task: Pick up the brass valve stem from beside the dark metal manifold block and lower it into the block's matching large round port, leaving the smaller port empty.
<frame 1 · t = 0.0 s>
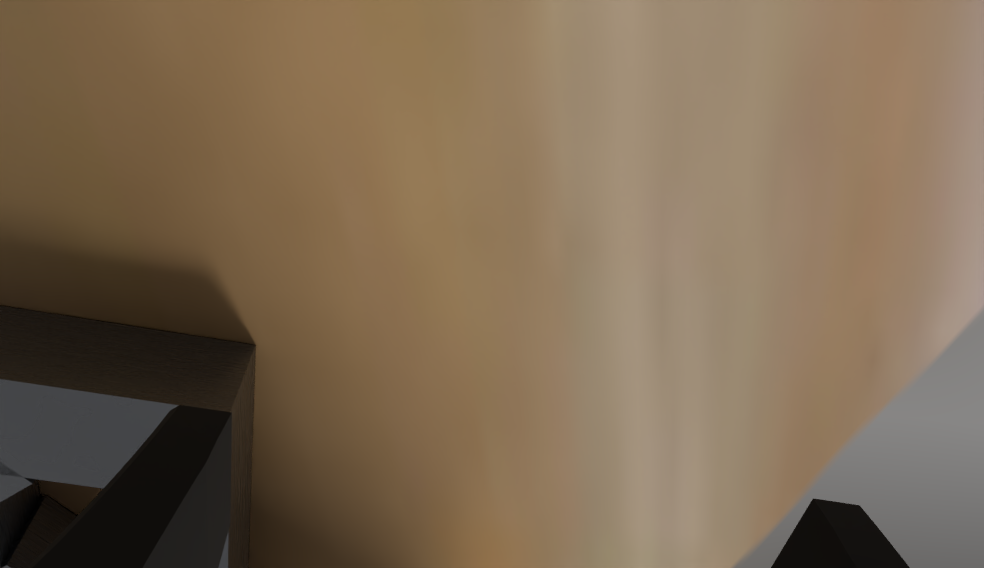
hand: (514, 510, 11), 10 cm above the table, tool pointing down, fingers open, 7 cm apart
manifold block: (9, 462, 25), on the table
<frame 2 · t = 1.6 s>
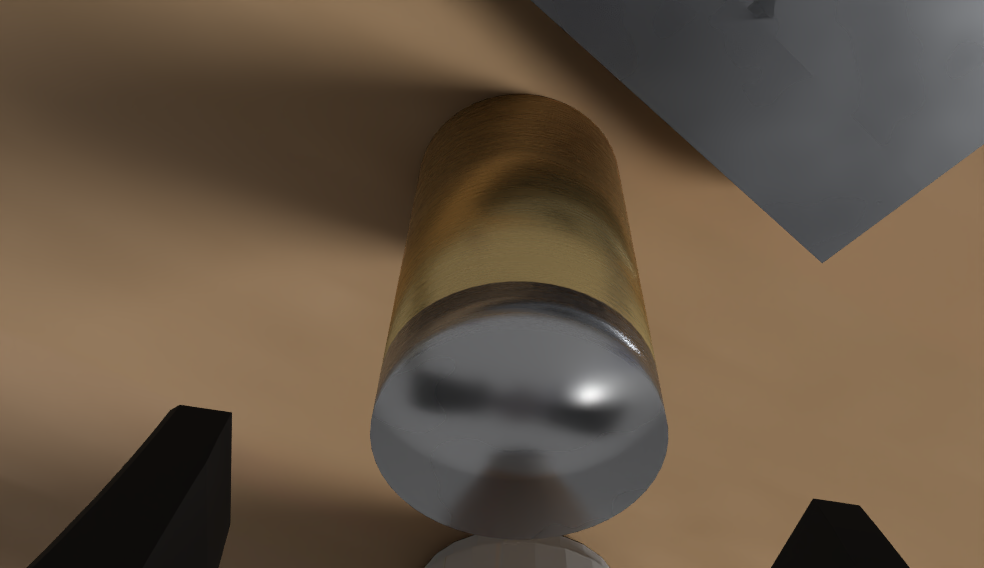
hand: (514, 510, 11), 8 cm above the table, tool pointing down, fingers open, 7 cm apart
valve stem: (518, 187, 17), on the table
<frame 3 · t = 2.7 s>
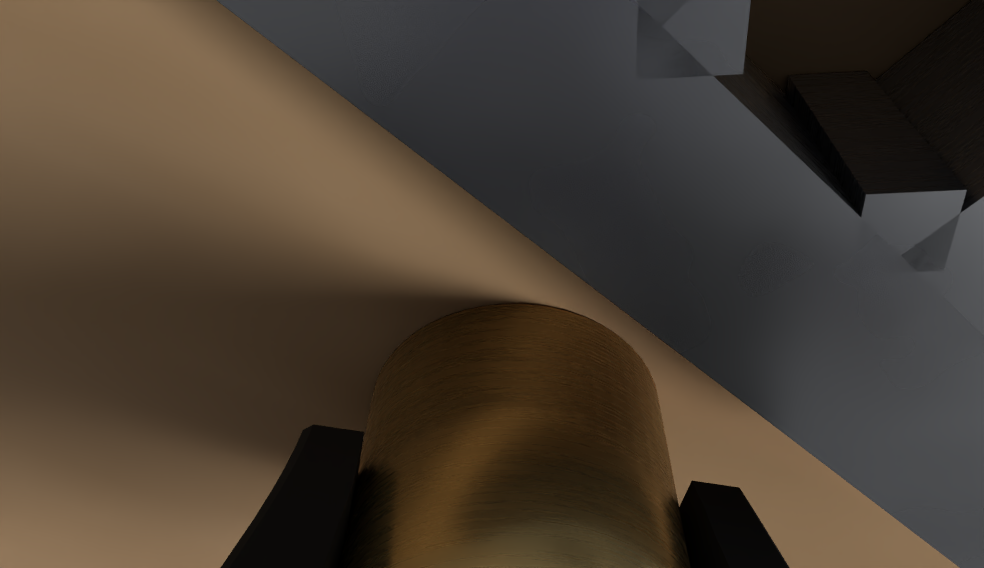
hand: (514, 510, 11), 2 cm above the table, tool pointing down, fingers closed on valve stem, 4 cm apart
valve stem: (514, 417, 12), on the table, touching gripper
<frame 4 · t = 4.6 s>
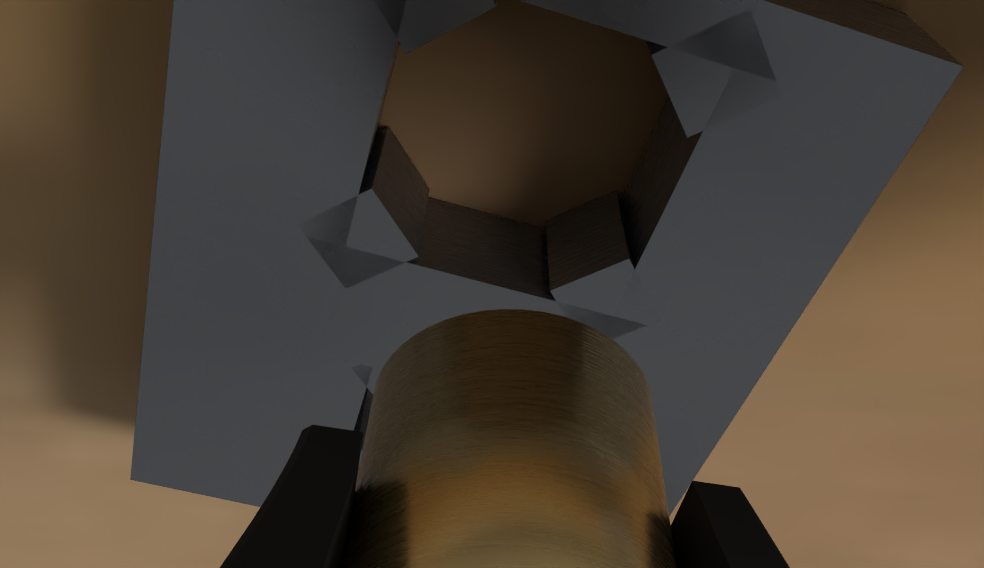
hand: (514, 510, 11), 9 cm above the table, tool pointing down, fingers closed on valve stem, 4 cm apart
manifold block: (476, 239, 19), on the table
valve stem: (511, 414, 13), point 7 cm above the table, touching gripper
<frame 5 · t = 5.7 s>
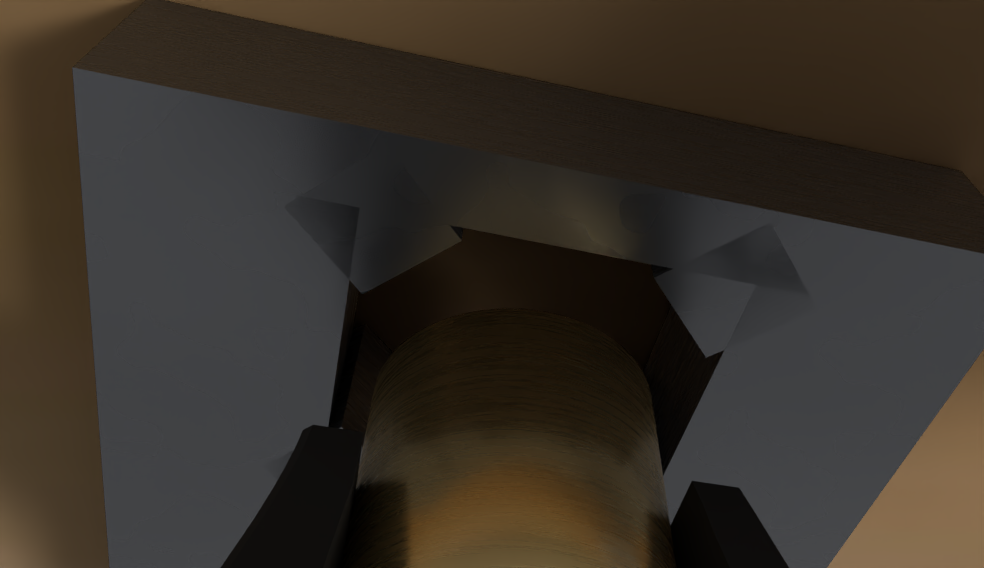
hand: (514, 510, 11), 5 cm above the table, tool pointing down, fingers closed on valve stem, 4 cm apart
manifold block: (477, 427, 16), on the table
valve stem: (511, 413, 12), point 3 cm above the table, touching gripper
when the fingers open (3 cm above the table, at t = 6.5 s): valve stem drops 1 cm, resting in manifold block.
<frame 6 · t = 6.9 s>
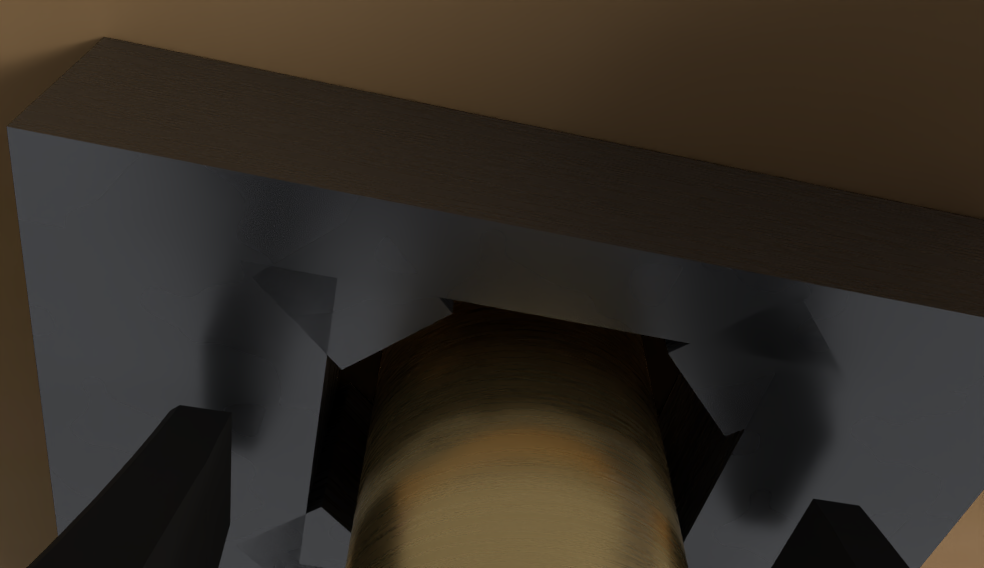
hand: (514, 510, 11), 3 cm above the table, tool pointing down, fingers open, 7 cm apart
manifold block: (472, 489, 15), on the table
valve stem: (512, 358, 13), resting in manifold block
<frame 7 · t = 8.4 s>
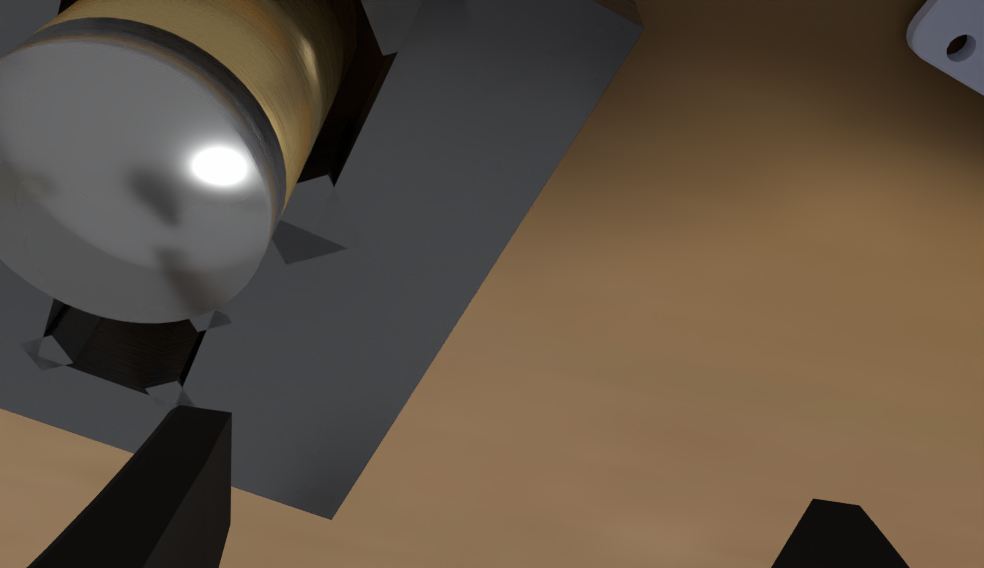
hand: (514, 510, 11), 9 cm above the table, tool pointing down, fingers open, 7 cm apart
manifold block: (207, 145, 18), on the table
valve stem: (254, 16, 17), resting in manifold block
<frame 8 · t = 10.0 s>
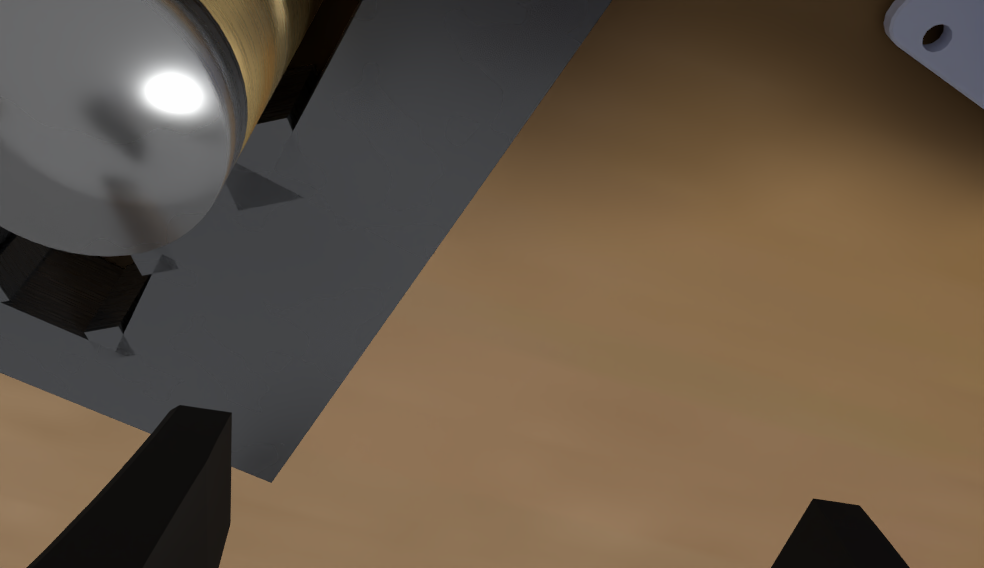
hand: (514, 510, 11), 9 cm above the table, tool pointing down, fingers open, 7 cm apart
manifold block: (164, 83, 18), on the table
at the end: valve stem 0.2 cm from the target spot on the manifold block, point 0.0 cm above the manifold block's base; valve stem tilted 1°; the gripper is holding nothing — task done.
